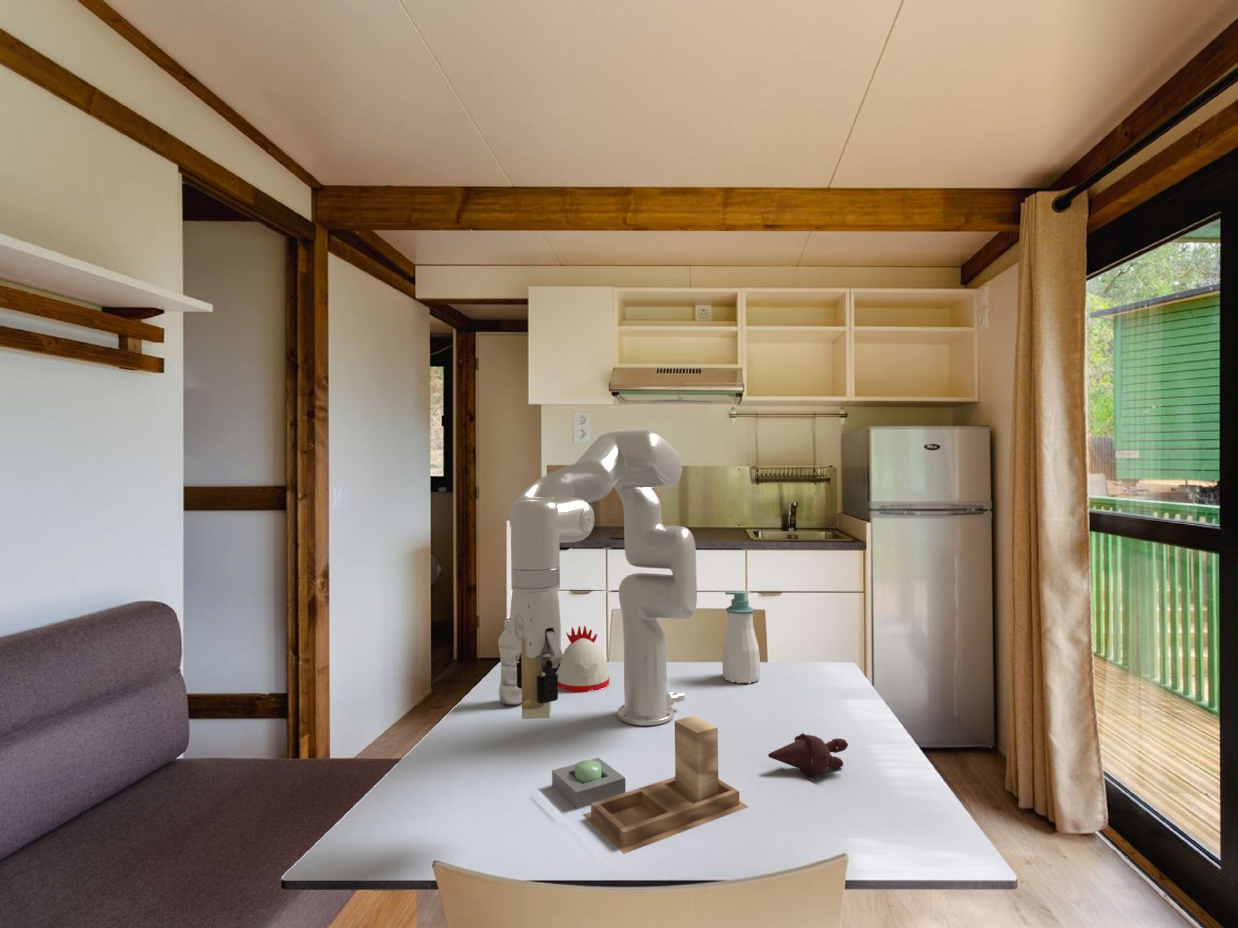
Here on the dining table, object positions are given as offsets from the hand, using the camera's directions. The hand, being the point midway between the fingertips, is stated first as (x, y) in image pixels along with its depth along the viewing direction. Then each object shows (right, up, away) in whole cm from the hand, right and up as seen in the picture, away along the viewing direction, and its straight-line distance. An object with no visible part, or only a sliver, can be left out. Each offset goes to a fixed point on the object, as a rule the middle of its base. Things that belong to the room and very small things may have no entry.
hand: (536, 692), depth 96 cm
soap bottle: (+45, -22, +68) cm, 85 cm away
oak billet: (+25, -18, +3) cm, 31 cm away
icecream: (+46, -20, +14) cm, 52 cm away
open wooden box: (+20, -19, 0) cm, 28 cm away
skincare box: (0, -3, 0) cm, 3 cm away
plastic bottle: (-13, -22, +52) cm, 57 cm away
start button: (+8, -18, +7) cm, 21 cm away
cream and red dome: (+3, -22, +66) cm, 70 cm away
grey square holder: (+8, -20, +7) cm, 22 cm away
